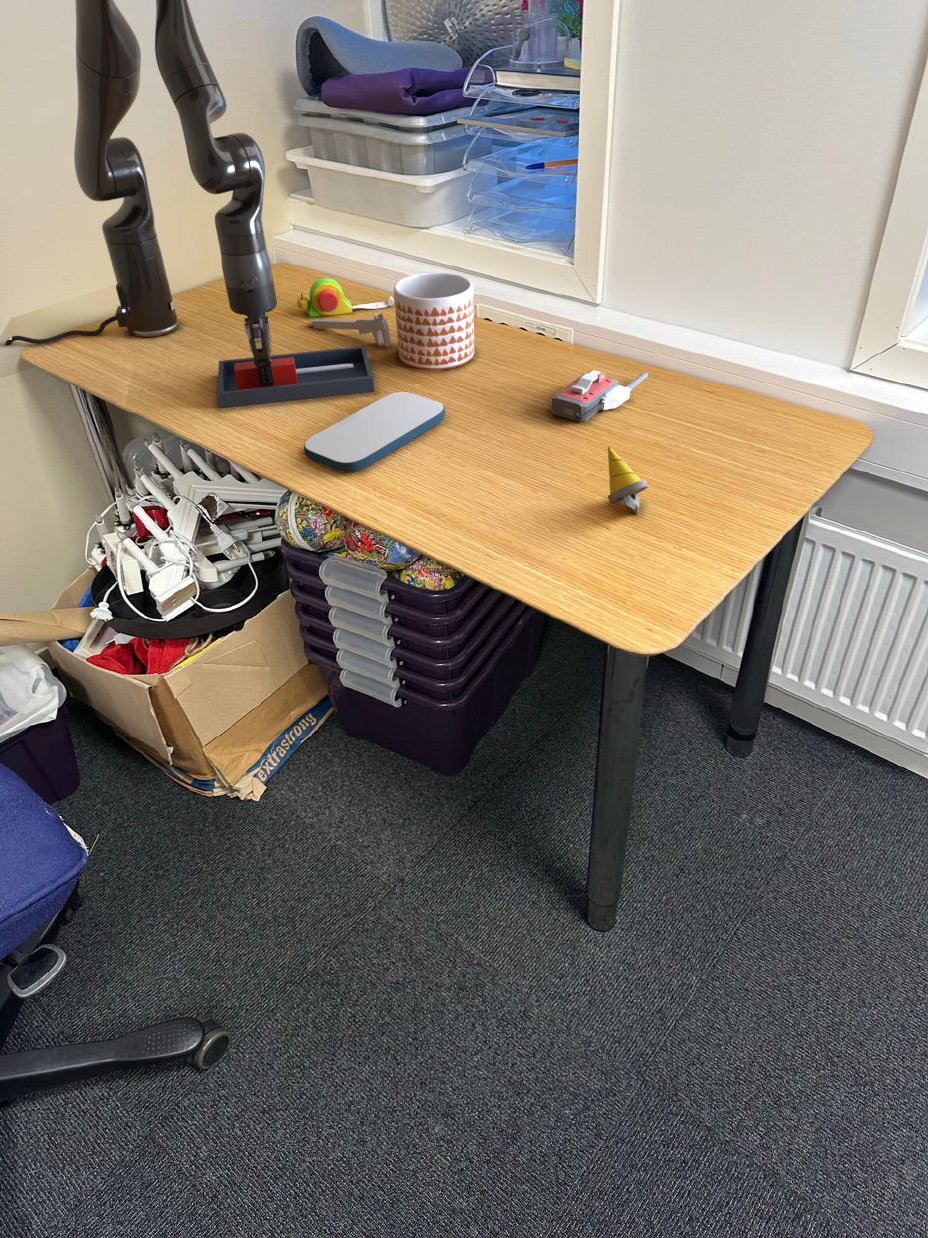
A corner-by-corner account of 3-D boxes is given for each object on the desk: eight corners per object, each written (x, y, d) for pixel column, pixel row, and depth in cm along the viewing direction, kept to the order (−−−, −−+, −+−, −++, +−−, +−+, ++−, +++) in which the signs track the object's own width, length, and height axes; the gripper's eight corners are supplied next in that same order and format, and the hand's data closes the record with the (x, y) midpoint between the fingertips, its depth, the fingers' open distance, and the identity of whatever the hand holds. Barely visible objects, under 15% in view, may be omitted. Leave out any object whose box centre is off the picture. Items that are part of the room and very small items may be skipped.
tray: (220, 410, 143) (216, 394, 141) (222, 376, 153) (219, 360, 151) (375, 393, 146) (373, 377, 144) (366, 361, 157) (365, 345, 155)
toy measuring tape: (297, 310, 177) (292, 277, 173) (391, 299, 180) (388, 266, 176) (300, 321, 172) (295, 288, 168) (396, 310, 175) (394, 277, 171)
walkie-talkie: (592, 430, 134) (651, 383, 146) (594, 404, 131) (653, 358, 144) (543, 416, 138) (604, 371, 150) (544, 390, 135) (606, 346, 148)
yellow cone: (612, 524, 115) (583, 455, 116) (627, 521, 120) (599, 454, 120) (647, 507, 112) (617, 436, 113) (661, 504, 117) (632, 437, 117)
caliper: (391, 347, 161) (388, 314, 157) (387, 349, 160) (384, 315, 156) (312, 324, 171) (307, 292, 167) (308, 326, 170) (303, 294, 166)
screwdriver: (238, 392, 147) (234, 370, 145) (238, 385, 149) (234, 362, 147) (355, 380, 150) (352, 357, 147) (353, 372, 152) (351, 350, 149)
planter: (458, 375, 151) (456, 302, 143) (386, 366, 155) (380, 294, 146) (484, 345, 160) (483, 275, 152) (416, 337, 164) (412, 268, 156)
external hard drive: (351, 479, 125) (350, 467, 123) (296, 456, 130) (294, 444, 129) (453, 417, 139) (453, 405, 137) (399, 398, 144) (398, 387, 143)
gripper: (225, 266, 142) (245, 366, 153) (223, 295, 131) (245, 401, 143) (271, 261, 143) (288, 362, 154) (273, 290, 132) (291, 396, 144)
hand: (267, 380), depth 148 cm, fingers closed on screwdriver, 3 cm apart
